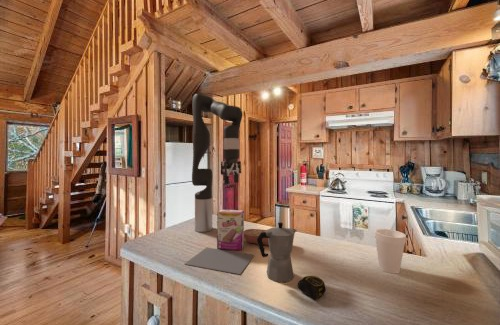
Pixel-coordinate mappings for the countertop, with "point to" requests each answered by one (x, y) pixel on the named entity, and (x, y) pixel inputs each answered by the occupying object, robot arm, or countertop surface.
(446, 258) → the countertop surface
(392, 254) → the foam cup
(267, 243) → the anatomical model
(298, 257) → the countertop surface
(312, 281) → the tape measure
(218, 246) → the candy bar box
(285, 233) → the coffeepot
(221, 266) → the mat
